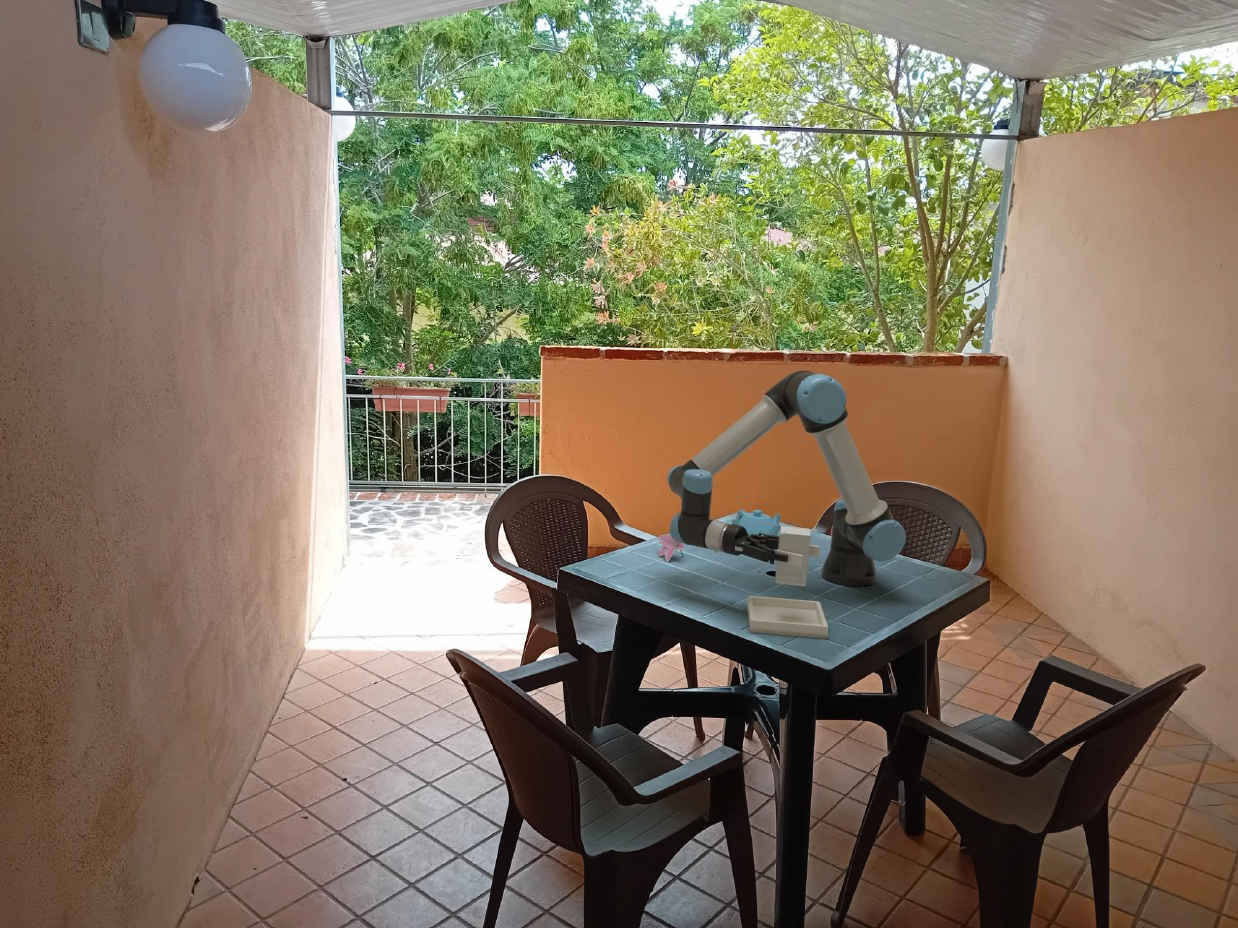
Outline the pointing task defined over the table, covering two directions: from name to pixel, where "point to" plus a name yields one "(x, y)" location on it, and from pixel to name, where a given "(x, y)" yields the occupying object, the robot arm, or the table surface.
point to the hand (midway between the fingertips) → (810, 556)
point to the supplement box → (798, 544)
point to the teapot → (758, 522)
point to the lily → (669, 546)
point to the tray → (786, 617)
